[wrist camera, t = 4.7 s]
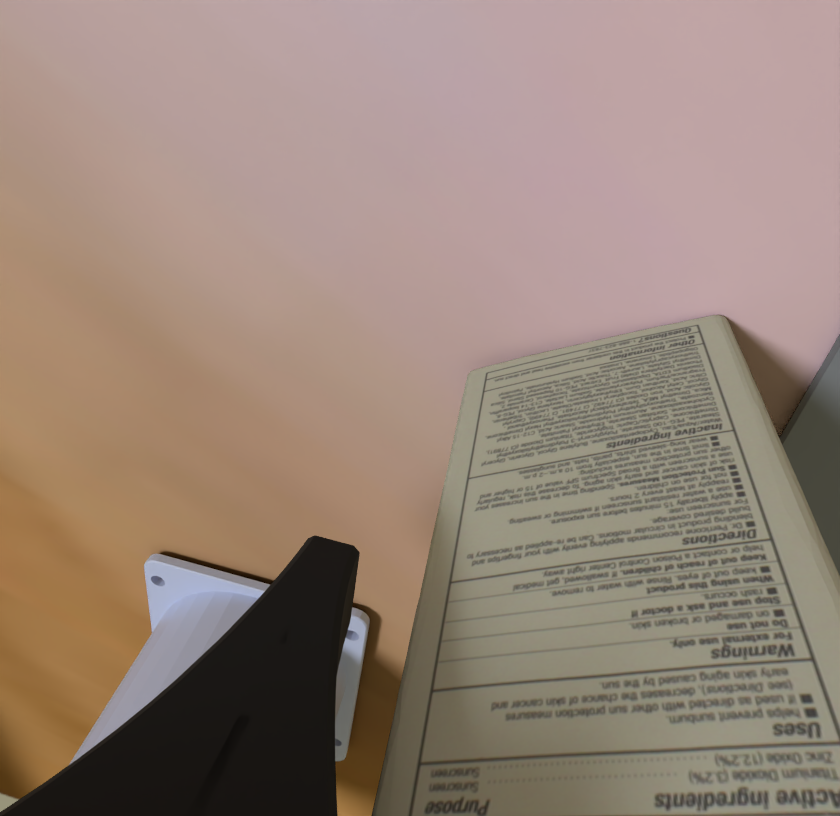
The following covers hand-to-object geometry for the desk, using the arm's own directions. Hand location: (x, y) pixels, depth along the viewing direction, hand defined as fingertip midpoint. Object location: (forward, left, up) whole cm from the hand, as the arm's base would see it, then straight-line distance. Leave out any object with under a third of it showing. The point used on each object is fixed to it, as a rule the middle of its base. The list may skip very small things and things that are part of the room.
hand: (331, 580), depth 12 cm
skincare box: (0, -5, -8) cm, 9 cm away
